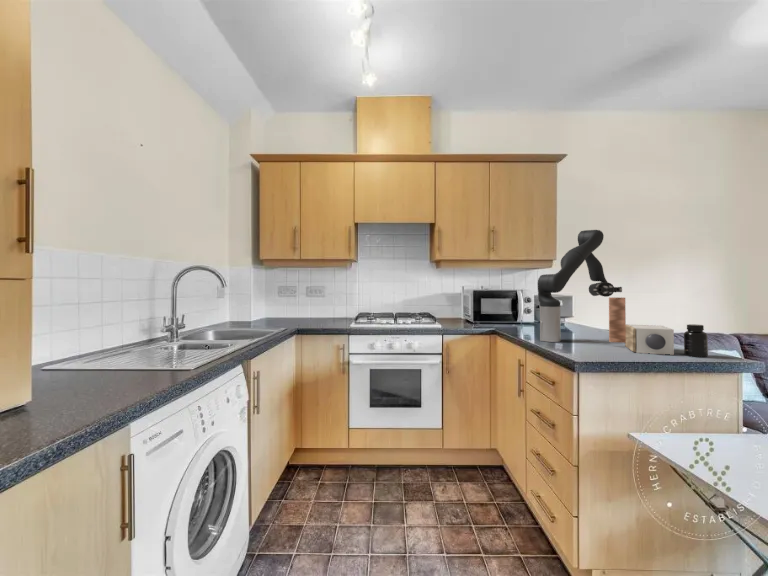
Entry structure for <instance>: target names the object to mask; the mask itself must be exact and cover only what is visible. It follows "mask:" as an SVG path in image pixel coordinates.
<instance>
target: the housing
mask: <svg viewBox="0 0 768 576" xmlns="http://www.w3.org/2000/svg"><path fill="white" fill-rule="evenodd" d="M628 325H629V326H632V327H634V328H636V352H635V353H636V354H648V353H650V354H651V355H665V354H670V355H669V356H674V353H675V350H674V349H675V348H674V347H675V345H674V344H675V343H674V342H675V338H674V335H675V334H674V329H673V328H670V327H668V326H664V325H656V324H655V325H653V324H652V325H649V324H628Z"/></svg>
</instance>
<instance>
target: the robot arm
mask: <svg viewBox="0 0 768 576" xmlns="http://www.w3.org/2000/svg"><path fill="white" fill-rule="evenodd" d="M603 241H604V233H603V231H602V230H600V229H587V230H580V231H579V233H578V235H577V244H578V245H577V246H575V247H572V248H571V249H570V250H568V251H567V252H565V254H564V255H563V256H562V258H561V260H560V270H559V271H558V272H556V273H552V274H551V273H549V274H541V275H540V276H539V277H538V279H537V294H538V295H537V298H538V302H539V341H540V342H546V343H549V342H550V343H551V342H552V343H559V342H561V341H562V340H561V335H562V332H561V323H562V322H561V301H560V300H559V299H557V298H555V297H553V296H552V294H556V293H557V294H558V293H560V292H562V290H563V289H564V288H565V287H566V285H567V284H568V282H569V281H570V279H571V277H572V276H573V274H575V272H576V271H577V270H578V269H579V268H580V267H581V265H582V264H584V262H585V263H586V266H587V270H588V275H589V279H590V281H592V282H596V283H591V284H590V285H589V286H588V291H589V294H590V295H591V296H593V297H597V296H601V297H606V298H607V297H608V298H609V297H610V296H612V295H613V294H614V293H623V286H617V287H616V286H614V285H613V284H612V283H610V282H608V281H607V279H606V276H605V272H604V268H603V265H602V263H601V262H600V261H601V260H599V259H598V257H596V256H595V255H594V253H593V252H594V251H596V250H597V249H598V248H599V247H600V246H601V244H602V243H603Z"/></svg>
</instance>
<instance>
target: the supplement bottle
mask: <svg viewBox="0 0 768 576" xmlns="http://www.w3.org/2000/svg"><path fill="white" fill-rule="evenodd" d="M704 328H705V327H704V325H703V324H686V331H685V332H684V333H683V353H684V355H685V356H687V357H691V356H692V358H707V357H708V356H709V344H708V342H709V341H708V334H707V332H705V329H704Z"/></svg>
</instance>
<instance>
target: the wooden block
mask: <svg viewBox="0 0 768 576" xmlns="http://www.w3.org/2000/svg"><path fill="white" fill-rule="evenodd" d="M626 315H627V313H626V297H608V338H609V339H608V342H609V343H623V344H624V347H626V348H627V349H628V350H630V351H631V352H634V353H636V328H634V327H632V326H629V325H630V324H626V319H627V318H626Z"/></svg>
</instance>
